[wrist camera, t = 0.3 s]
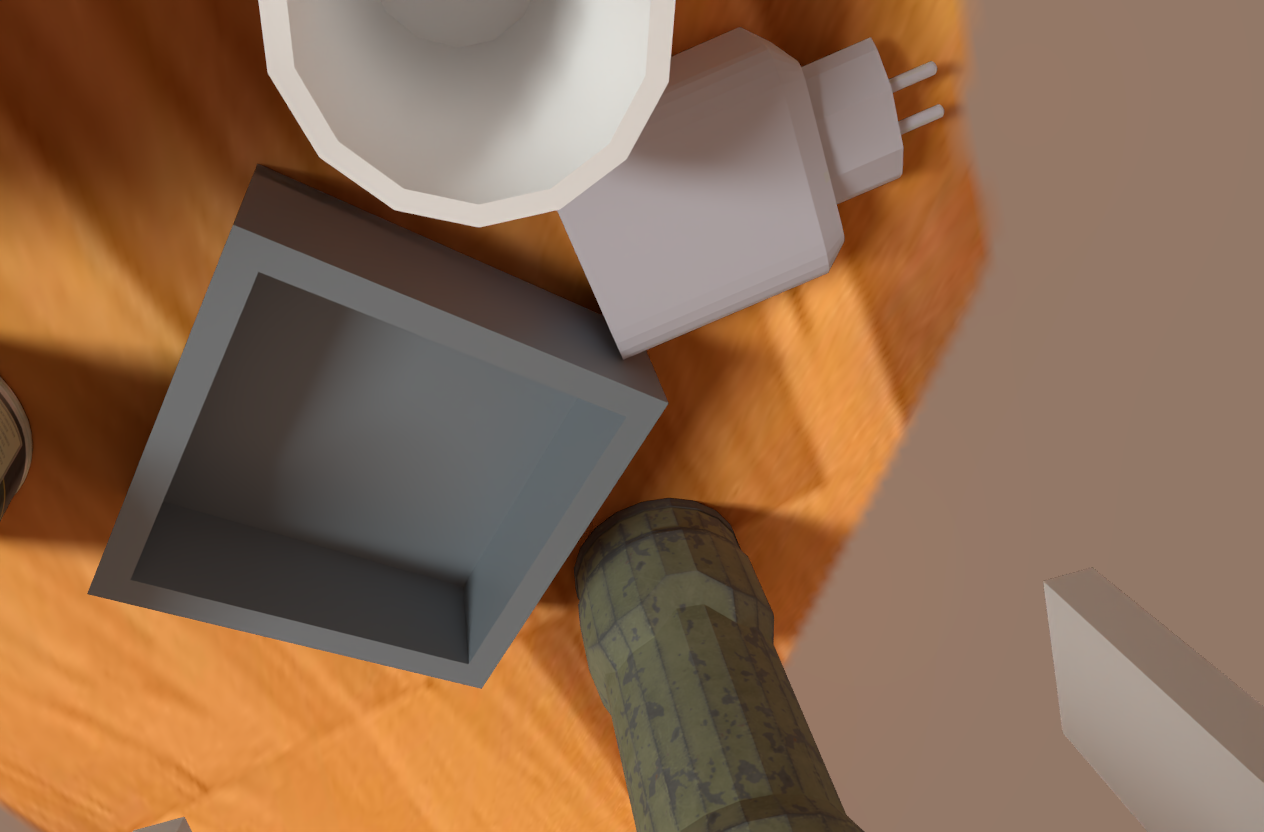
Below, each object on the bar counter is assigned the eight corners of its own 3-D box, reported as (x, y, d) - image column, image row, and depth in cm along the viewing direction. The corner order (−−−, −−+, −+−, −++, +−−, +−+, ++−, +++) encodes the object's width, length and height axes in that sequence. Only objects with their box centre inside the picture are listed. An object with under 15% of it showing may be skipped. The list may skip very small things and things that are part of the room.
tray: (257, 163, 35) (233, 224, 30) (637, 330, 42) (668, 403, 37) (125, 498, 42) (87, 593, 37) (474, 596, 48) (481, 688, 43)
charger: (930, 175, 41) (605, 314, 42) (889, -46, 36) (517, 116, 36) (985, 216, 37) (625, 369, 38) (948, -26, 32) (531, 155, 32)
